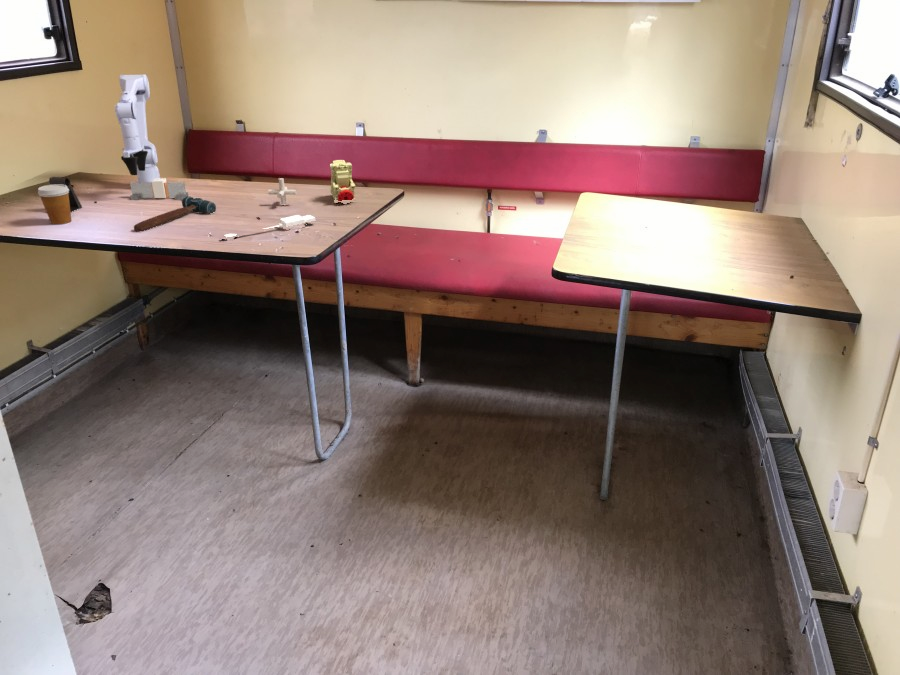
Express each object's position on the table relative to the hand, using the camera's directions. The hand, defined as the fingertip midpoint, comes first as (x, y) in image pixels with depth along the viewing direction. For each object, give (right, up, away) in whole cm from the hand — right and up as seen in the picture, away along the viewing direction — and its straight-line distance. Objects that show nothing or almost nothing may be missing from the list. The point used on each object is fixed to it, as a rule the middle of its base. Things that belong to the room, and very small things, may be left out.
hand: (138, 172), depth 261 cm
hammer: (+22, -23, -22) cm, 39 cm away
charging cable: (+60, -28, -33) cm, 74 cm away
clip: (+8, -8, +3) cm, 12 cm away
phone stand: (-20, -17, -13) cm, 29 cm away
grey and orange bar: (+7, -9, +3) cm, 12 cm away
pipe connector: (+57, -14, -5) cm, 59 cm away
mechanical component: (+79, -12, 0) cm, 80 cm away
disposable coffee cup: (-15, -23, -25) cm, 37 cm away
